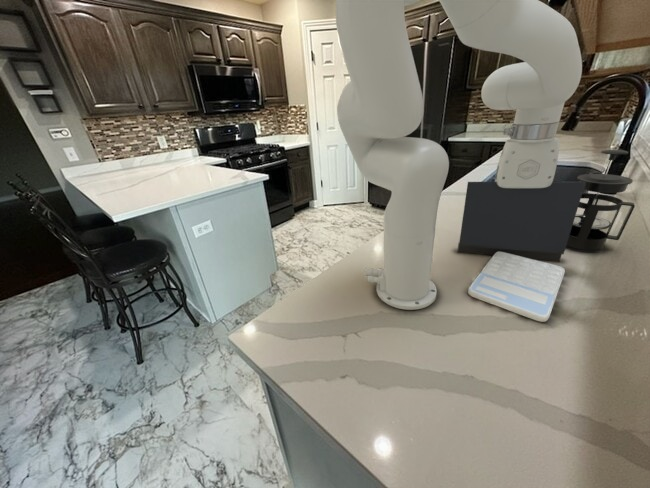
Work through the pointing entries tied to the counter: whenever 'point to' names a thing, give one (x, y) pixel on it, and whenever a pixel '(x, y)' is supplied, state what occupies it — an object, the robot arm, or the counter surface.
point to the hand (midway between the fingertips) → (513, 214)
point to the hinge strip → (519, 253)
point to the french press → (598, 209)
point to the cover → (520, 216)
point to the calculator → (519, 285)
